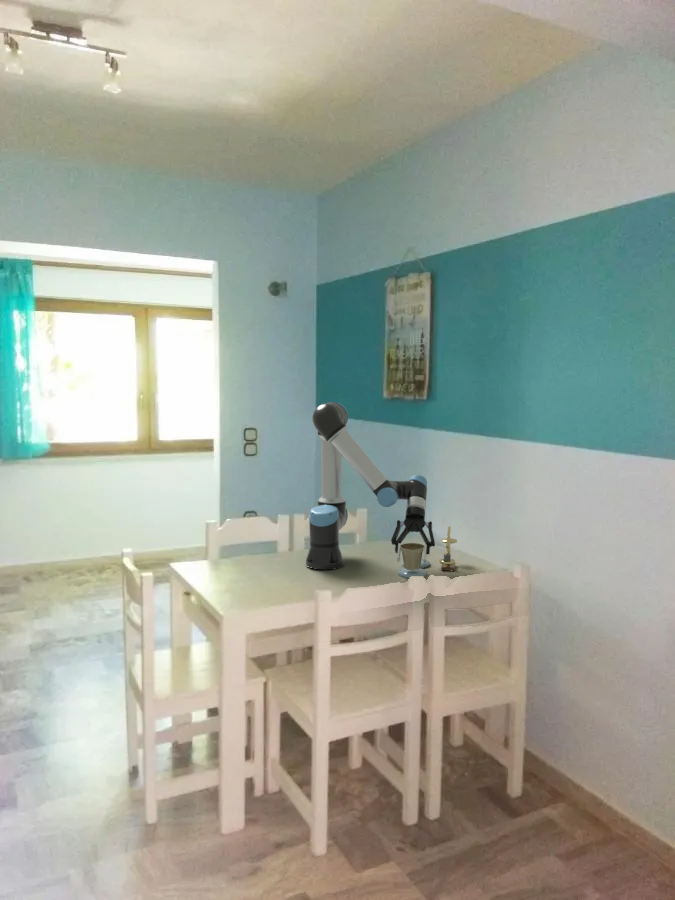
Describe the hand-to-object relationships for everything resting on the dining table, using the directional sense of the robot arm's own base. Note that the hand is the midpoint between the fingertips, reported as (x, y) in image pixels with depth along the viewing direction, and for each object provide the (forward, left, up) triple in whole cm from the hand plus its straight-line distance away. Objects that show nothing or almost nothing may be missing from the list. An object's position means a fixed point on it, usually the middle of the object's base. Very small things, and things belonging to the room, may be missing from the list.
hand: (411, 560), depth 262 cm
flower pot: (0, +3, -4) cm, 5 cm away
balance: (+13, +14, -6) cm, 20 cm away
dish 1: (0, +3, -6) cm, 7 cm away
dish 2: (0, +16, -6) cm, 17 cm away
